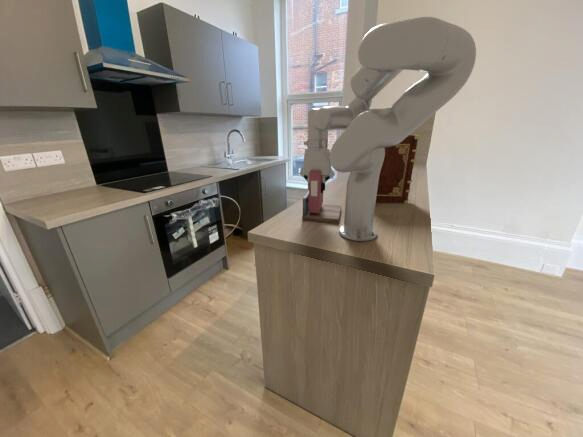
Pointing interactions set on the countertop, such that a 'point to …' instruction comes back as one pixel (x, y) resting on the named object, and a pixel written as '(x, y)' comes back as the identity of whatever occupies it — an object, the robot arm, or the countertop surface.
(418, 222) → the countertop surface
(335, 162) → the robot arm
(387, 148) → the decorative book
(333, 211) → the shelf board
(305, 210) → the bookend
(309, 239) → the countertop surface
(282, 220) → the countertop surface
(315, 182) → the slim book
